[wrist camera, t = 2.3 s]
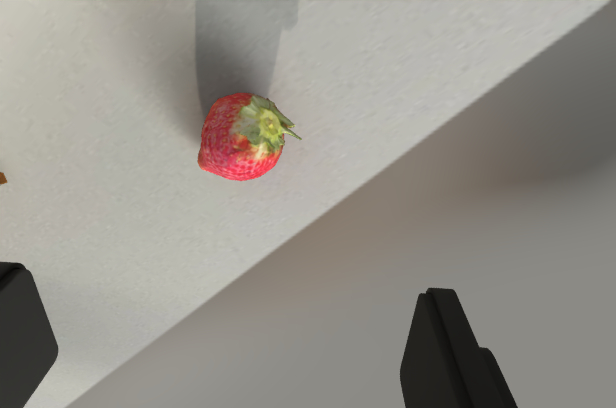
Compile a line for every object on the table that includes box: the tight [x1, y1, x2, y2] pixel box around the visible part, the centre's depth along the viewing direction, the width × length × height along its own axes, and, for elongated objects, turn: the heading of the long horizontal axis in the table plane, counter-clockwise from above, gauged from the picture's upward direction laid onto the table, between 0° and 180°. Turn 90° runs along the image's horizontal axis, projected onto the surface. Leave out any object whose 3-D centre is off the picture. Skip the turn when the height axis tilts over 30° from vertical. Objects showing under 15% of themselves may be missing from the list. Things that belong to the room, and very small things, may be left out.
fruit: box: [198, 93, 302, 181], centre depth 20 cm, size 4×6×5 cm
